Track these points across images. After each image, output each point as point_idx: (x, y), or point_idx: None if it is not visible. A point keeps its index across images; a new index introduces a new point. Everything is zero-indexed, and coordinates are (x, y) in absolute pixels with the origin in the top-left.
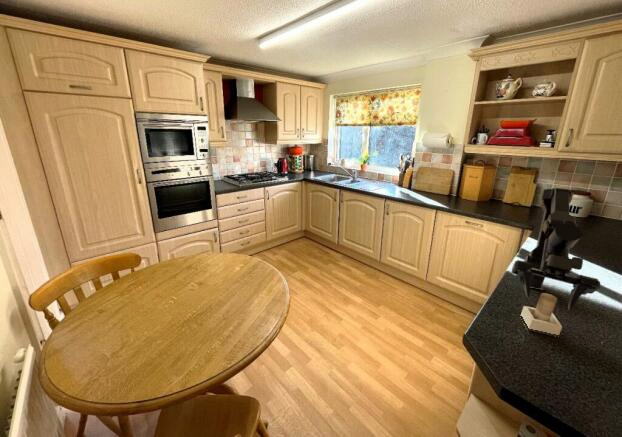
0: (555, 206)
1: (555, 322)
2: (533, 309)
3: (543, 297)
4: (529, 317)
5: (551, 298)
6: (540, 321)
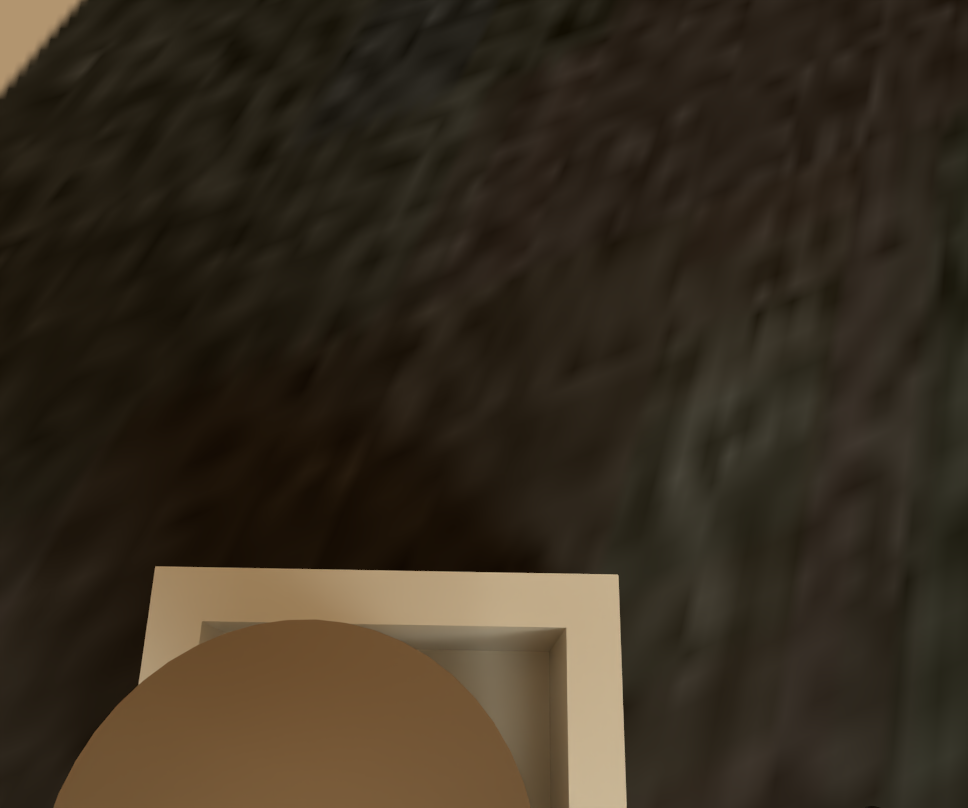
0: None
1: None
2: None
3: (505, 746)
4: (618, 692)
5: (256, 754)
6: (483, 581)
